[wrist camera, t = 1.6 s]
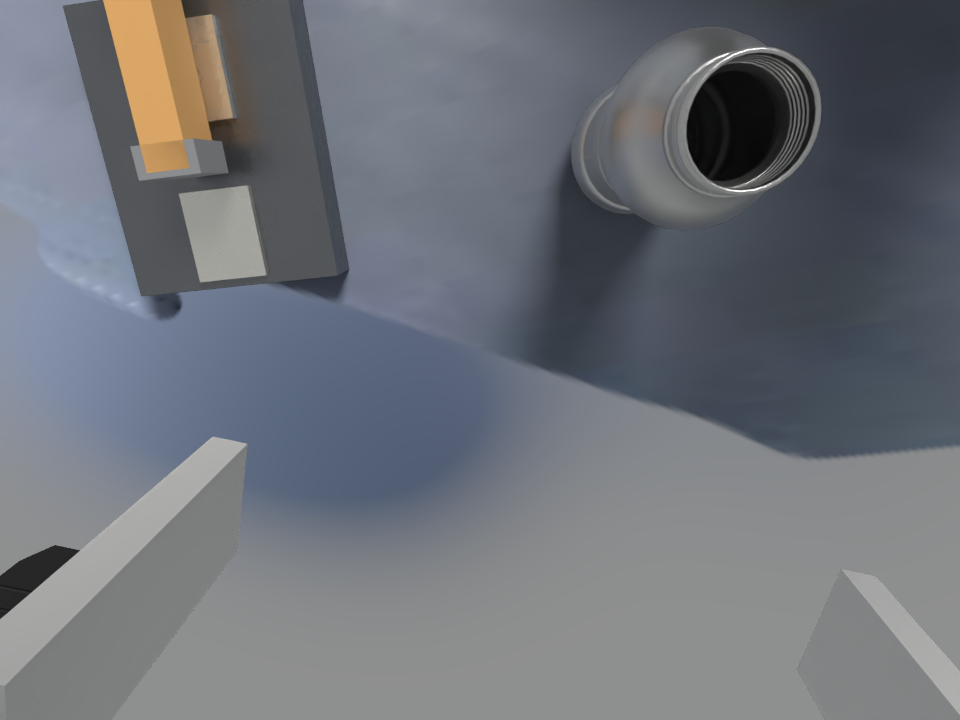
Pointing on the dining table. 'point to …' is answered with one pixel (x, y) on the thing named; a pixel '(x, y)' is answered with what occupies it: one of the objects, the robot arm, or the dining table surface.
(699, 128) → the plastic bottle
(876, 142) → the dining table surface
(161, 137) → the swing arm
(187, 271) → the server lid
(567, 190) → the dining table surface
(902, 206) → the dining table surface
